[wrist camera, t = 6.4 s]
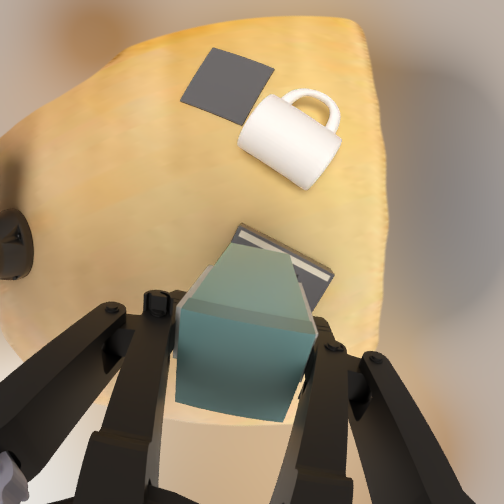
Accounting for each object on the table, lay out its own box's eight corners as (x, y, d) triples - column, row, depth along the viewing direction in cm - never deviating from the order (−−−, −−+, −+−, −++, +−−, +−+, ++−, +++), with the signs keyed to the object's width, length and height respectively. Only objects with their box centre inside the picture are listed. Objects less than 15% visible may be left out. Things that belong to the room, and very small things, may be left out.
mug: (302, 191, 36) (311, 191, 28) (240, 150, 35) (232, 139, 27) (348, 123, 33) (366, 108, 25) (288, 84, 32) (292, 60, 24)
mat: (180, 101, 34) (179, 100, 33) (213, 48, 31) (212, 47, 31) (242, 125, 34) (241, 125, 34) (274, 69, 32) (274, 68, 31)
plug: (220, 297, 22) (175, 401, 10) (230, 241, 21) (180, 308, 9) (277, 308, 21) (282, 422, 10) (290, 253, 20) (315, 334, 9)
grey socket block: (211, 284, 39) (206, 292, 36) (241, 222, 37) (239, 225, 34) (295, 324, 40) (297, 335, 37) (330, 268, 37) (335, 275, 34)
